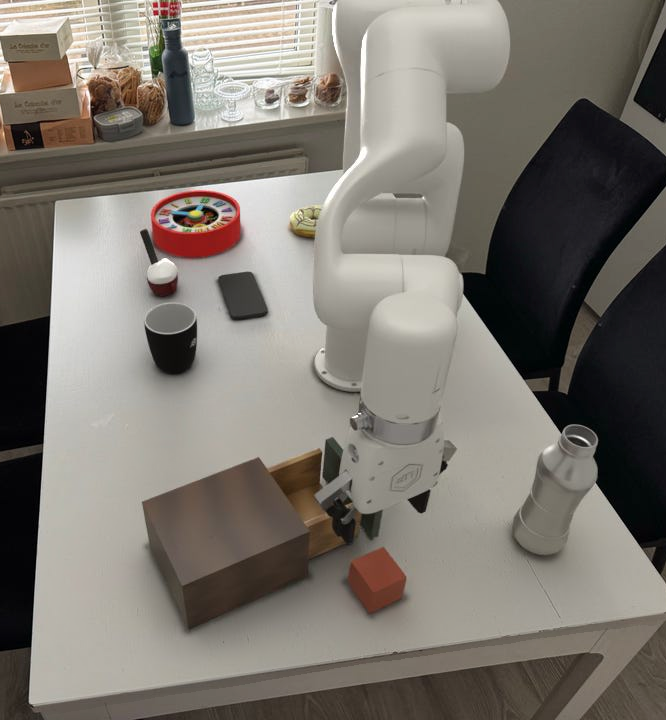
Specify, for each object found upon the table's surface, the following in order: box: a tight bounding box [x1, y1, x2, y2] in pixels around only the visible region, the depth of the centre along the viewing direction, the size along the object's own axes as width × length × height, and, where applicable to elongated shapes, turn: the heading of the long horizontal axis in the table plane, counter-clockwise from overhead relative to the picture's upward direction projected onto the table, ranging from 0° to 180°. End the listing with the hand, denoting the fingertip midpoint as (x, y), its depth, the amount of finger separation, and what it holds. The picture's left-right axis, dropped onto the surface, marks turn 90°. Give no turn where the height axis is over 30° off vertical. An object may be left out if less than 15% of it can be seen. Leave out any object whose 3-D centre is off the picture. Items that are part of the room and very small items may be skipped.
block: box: [347, 546, 408, 614], centre depth 85 cm, size 5×5×5 cm
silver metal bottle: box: [512, 424, 599, 556], centre depth 84 cm, size 6×7×20 cm
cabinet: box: [141, 456, 310, 630], centre depth 88 cm, size 17×13×10 cm
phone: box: [217, 270, 269, 320], centre depth 137 cm, size 7×1×15 cm
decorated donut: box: [289, 204, 323, 238], centre depth 154 cm, size 10×11×4 cm
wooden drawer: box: [266, 436, 384, 560], centre depth 92 cm, size 20×12×8 cm, turn 113°
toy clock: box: [150, 189, 242, 259], centre depth 155 cm, size 20×6×20 cm
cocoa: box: [139, 228, 179, 297], centre depth 137 cm, size 10×6×12 cm, turn 12°
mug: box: [143, 302, 198, 375], centre depth 121 cm, size 12×9×10 cm
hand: (379, 519), depth 78 cm, fingers open, 9 cm apart
